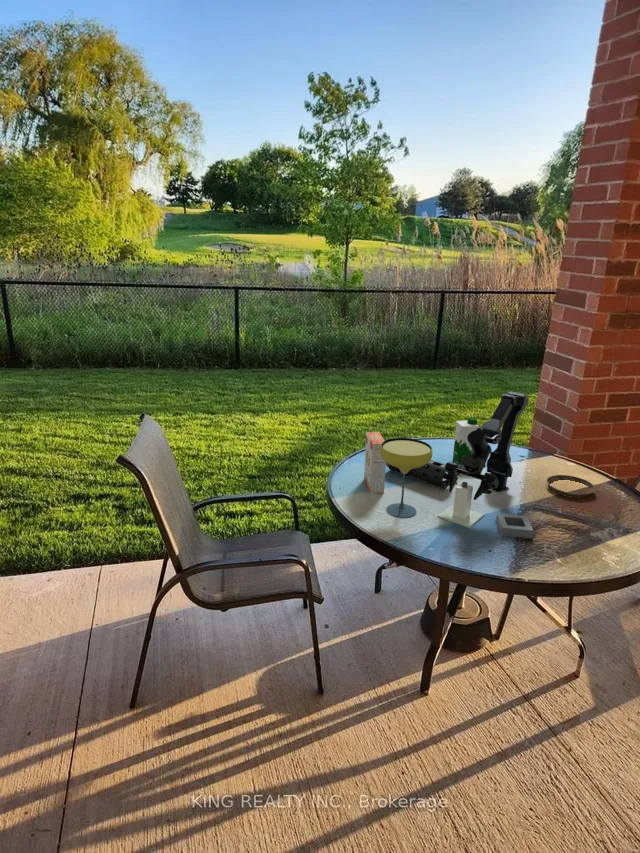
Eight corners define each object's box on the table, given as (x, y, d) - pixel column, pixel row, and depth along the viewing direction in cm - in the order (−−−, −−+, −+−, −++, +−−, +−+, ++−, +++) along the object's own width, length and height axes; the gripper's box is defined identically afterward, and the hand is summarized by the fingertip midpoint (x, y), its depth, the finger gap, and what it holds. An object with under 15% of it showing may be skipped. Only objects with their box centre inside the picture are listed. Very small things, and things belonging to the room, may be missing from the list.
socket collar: (496, 521, 183) (497, 513, 182) (525, 523, 182) (526, 516, 181) (500, 535, 174) (502, 527, 173) (532, 538, 173) (533, 530, 172)
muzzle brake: (440, 493, 204) (443, 469, 200) (382, 473, 222) (384, 450, 218) (452, 486, 210) (455, 462, 207) (395, 467, 228) (397, 445, 225)
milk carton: (476, 464, 233) (481, 421, 226) (456, 464, 232) (461, 422, 225) (468, 456, 241) (473, 415, 235) (450, 457, 240) (454, 416, 234)
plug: (458, 510, 189) (461, 479, 185) (469, 514, 186) (473, 482, 182) (452, 515, 186) (456, 483, 182) (464, 519, 183) (468, 486, 179)
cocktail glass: (370, 517, 184) (374, 451, 176) (383, 496, 200) (387, 434, 192) (421, 527, 178) (427, 459, 170) (430, 504, 194) (436, 442, 186)
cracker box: (363, 479, 215) (365, 431, 208) (377, 479, 216) (380, 431, 209) (368, 494, 202) (371, 443, 195) (384, 493, 202) (387, 443, 196)
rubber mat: (453, 505, 194) (453, 503, 194) (484, 515, 187) (484, 514, 187) (437, 516, 185) (437, 515, 185) (469, 528, 178) (469, 526, 178)
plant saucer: (571, 503, 198) (573, 496, 197) (535, 485, 213) (536, 478, 212) (603, 496, 205) (605, 489, 204) (567, 478, 220) (568, 472, 219)
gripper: (449, 440, 187) (431, 478, 182) (499, 453, 175) (482, 494, 171) (457, 455, 195) (440, 491, 190) (505, 468, 184) (489, 507, 179)
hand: (461, 495), depth 182 cm, fingers open, 9 cm apart
